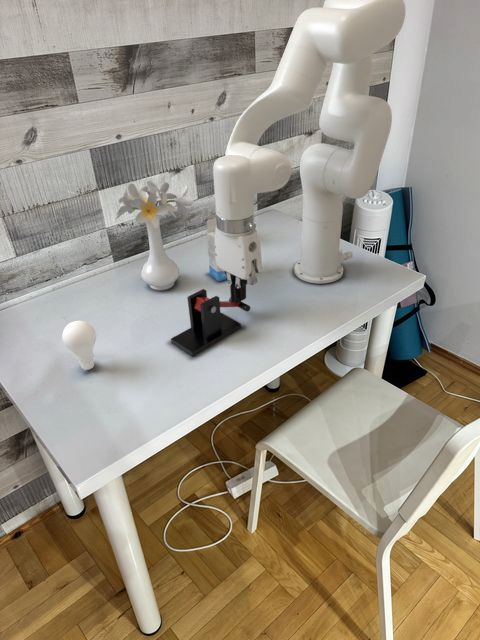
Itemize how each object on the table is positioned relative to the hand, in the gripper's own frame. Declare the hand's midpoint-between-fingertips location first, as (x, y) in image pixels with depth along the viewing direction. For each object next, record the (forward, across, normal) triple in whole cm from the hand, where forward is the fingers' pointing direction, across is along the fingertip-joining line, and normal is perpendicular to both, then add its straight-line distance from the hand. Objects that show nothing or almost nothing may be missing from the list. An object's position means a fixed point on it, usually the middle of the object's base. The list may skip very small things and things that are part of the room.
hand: (238, 299), depth 112 cm
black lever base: (+5, 0, +10) cm, 11 cm away
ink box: (+5, +16, -12) cm, 21 cm away
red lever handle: (0, 0, +6) cm, 6 cm away
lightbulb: (+5, +9, +33) cm, 35 cm away
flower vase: (+5, +25, +2) cm, 26 cm away
